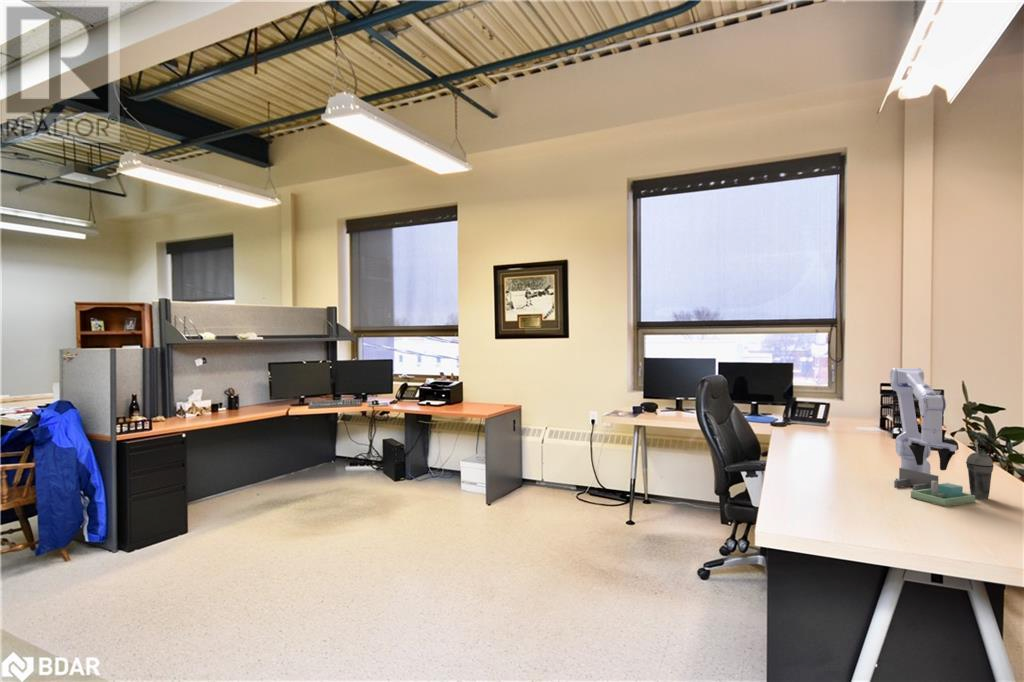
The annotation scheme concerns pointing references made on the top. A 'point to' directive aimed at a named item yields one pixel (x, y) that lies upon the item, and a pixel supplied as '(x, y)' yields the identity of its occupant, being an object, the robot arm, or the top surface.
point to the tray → (926, 496)
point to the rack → (914, 479)
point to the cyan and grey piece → (946, 490)
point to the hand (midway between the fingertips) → (931, 467)
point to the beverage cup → (979, 473)
